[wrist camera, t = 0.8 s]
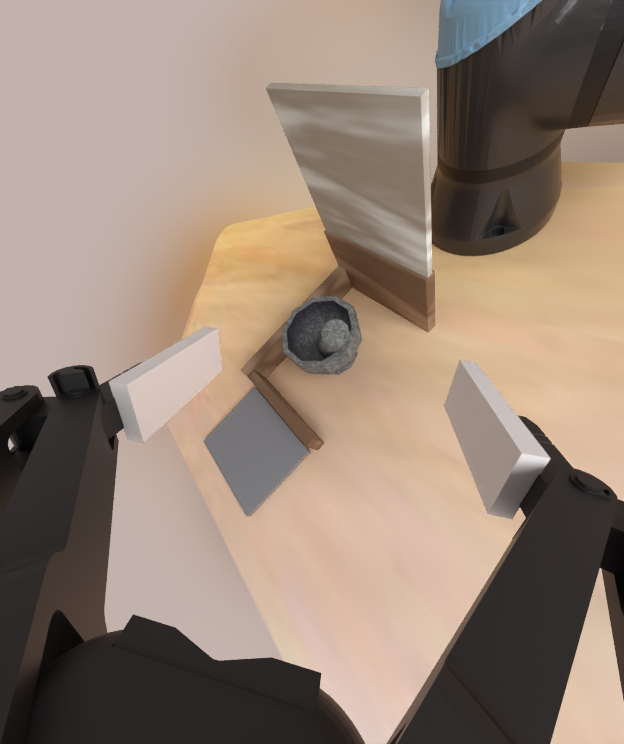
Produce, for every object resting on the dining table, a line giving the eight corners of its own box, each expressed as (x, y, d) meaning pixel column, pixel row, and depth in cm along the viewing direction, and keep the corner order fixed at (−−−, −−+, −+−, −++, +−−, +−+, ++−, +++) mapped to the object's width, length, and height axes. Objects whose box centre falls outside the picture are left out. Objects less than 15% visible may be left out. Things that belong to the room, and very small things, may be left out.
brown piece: (352, 278, 42) (273, 80, 22) (434, 325, 34) (432, 83, 14) (256, 379, 42) (88, 275, 22) (317, 450, 34) (142, 390, 14)
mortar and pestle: (291, 360, 41) (244, 316, 31) (334, 313, 41) (300, 255, 31) (344, 407, 35) (307, 373, 25) (393, 353, 35) (376, 297, 25)
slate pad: (257, 388, 41) (254, 386, 41) (310, 451, 34) (308, 451, 34) (207, 441, 41) (203, 441, 41) (250, 515, 34) (246, 516, 34)
